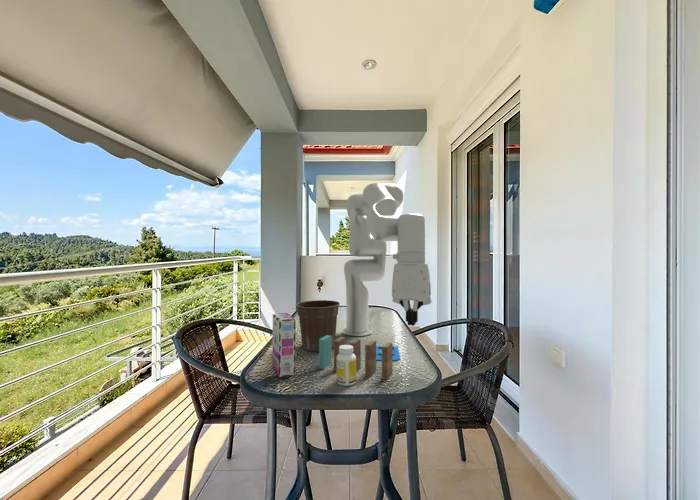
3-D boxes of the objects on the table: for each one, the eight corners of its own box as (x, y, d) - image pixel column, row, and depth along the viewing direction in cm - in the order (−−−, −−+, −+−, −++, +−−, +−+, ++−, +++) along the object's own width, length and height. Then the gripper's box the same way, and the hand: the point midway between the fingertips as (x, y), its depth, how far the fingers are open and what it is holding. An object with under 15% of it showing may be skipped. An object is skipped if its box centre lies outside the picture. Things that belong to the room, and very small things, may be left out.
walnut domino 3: (365, 375, 97) (365, 344, 97) (371, 370, 102) (371, 340, 102) (370, 376, 97) (370, 345, 97) (376, 370, 101) (376, 340, 101)
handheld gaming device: (375, 358, 110) (375, 345, 125) (375, 362, 110) (375, 348, 125) (400, 359, 109) (397, 345, 124) (400, 362, 109) (397, 348, 124)
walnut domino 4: (381, 378, 95) (381, 346, 95) (387, 372, 100) (387, 342, 100) (387, 379, 95) (387, 347, 94) (392, 373, 99) (392, 342, 99)
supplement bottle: (355, 378, 96) (355, 343, 95) (356, 386, 90) (356, 349, 90) (336, 378, 95) (336, 343, 95) (336, 386, 90) (336, 349, 90)
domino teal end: (319, 368, 103) (319, 339, 103) (327, 363, 108) (326, 335, 108) (324, 369, 103) (323, 339, 102) (331, 364, 107) (331, 335, 107)
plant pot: (287, 351, 121) (287, 306, 120) (307, 339, 136) (307, 299, 136) (330, 355, 115) (329, 308, 115) (346, 342, 131) (345, 301, 130)
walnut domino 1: (334, 370, 101) (333, 341, 101) (341, 365, 106) (340, 336, 106) (338, 371, 101) (338, 341, 100) (345, 366, 105) (345, 337, 105)
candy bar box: (296, 375, 98) (296, 319, 97) (279, 378, 96) (278, 320, 96) (287, 363, 108) (287, 312, 108) (271, 365, 106) (271, 313, 106)
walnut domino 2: (349, 373, 99) (349, 342, 99) (355, 367, 104) (355, 338, 104) (354, 374, 99) (354, 343, 98) (360, 368, 103) (360, 339, 103)
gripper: (381, 258, 93) (381, 325, 93) (436, 259, 87) (437, 329, 87) (389, 258, 100) (389, 320, 100) (440, 258, 94) (441, 324, 94)
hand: (411, 324), depth 94 cm, fingers closed
